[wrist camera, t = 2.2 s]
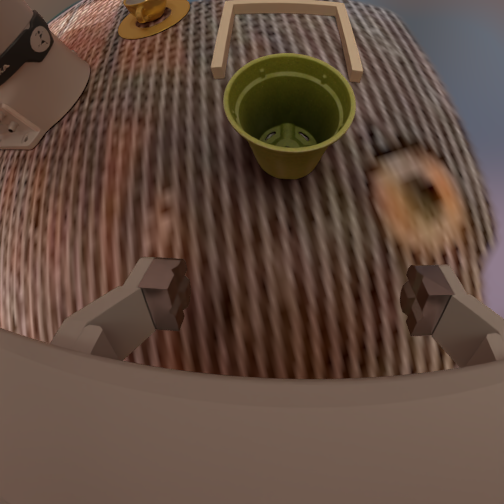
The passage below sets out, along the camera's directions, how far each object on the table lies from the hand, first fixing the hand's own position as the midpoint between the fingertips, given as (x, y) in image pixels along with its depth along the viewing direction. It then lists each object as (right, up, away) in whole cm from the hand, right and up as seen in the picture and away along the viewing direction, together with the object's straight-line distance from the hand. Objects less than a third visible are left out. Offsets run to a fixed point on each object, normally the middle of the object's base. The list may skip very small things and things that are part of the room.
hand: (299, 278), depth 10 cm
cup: (-17, +37, +25) cm, 48 cm away
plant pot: (+2, +10, +18) cm, 21 cm away
